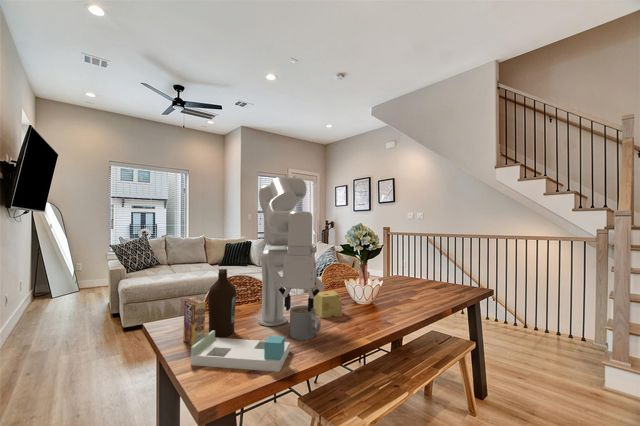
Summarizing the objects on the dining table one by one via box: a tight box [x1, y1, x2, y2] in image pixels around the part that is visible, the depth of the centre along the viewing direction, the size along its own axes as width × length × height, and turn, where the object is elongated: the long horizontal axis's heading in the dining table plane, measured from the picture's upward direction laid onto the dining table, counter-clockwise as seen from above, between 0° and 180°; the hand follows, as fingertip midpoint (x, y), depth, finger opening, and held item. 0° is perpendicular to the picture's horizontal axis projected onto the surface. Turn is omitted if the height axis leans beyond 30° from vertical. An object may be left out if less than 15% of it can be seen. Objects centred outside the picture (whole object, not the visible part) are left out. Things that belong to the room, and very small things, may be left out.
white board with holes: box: [190, 330, 291, 373], centre depth 98 cm, size 14×28×6 cm, turn 83°
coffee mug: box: [289, 305, 322, 341], centre depth 116 cm, size 13×10×10 cm
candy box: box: [182, 297, 207, 347], centre depth 109 cm, size 9×4×15 cm, turn 47°
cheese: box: [314, 290, 343, 319], centre depth 144 cm, size 10×11×10 cm
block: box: [264, 335, 286, 360], centre depth 93 cm, size 5×5×5 cm
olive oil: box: [207, 268, 237, 338], centre depth 119 cm, size 11×11×25 cm
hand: (299, 309), depth 92 cm, fingers open, 6 cm apart
